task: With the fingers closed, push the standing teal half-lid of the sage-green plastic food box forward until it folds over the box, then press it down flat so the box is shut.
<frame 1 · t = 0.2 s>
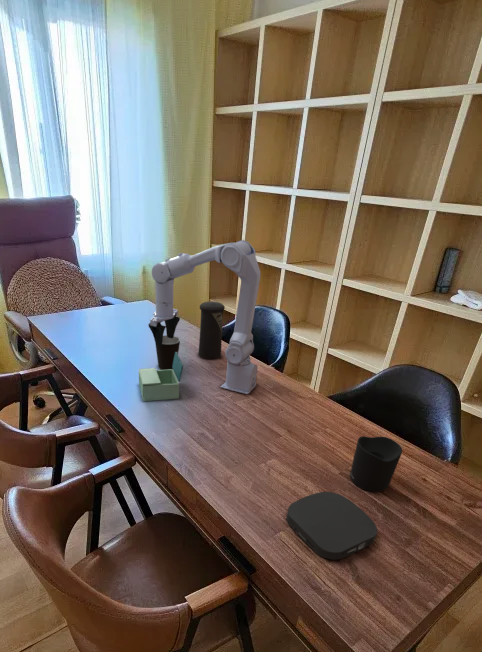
hand: (164, 341, 145), 10 cm above the table, tool pointing down, fingers open, 7 cm apart
container: (209, 356, 162), on the table
media streaming box: (329, 528, 86), on the table
coffee mug: (170, 365, 152), on the table
food box: (158, 391, 134), on the table
pen holder: (368, 481, 100), on the table
lid: (177, 366, 131), point 8 cm above the table, hinge at 100.0°
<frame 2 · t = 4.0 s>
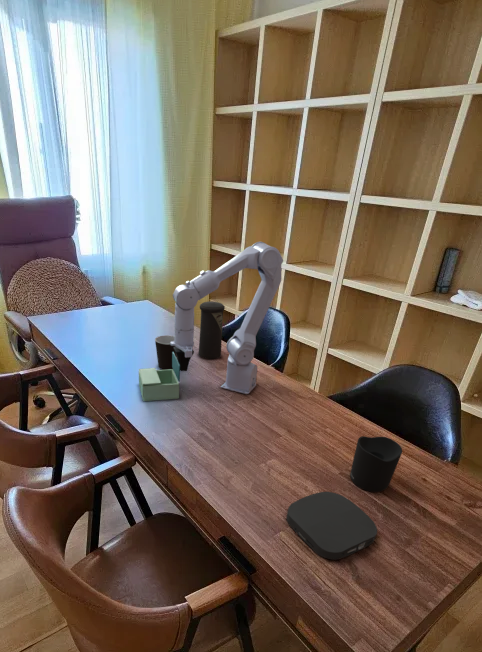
hand: (183, 370, 132), 7 cm above the table, tool pointing down, fingers closed
lid: (175, 366, 131), point 8 cm above the table, hinge at 90.2°
everything else where it was.
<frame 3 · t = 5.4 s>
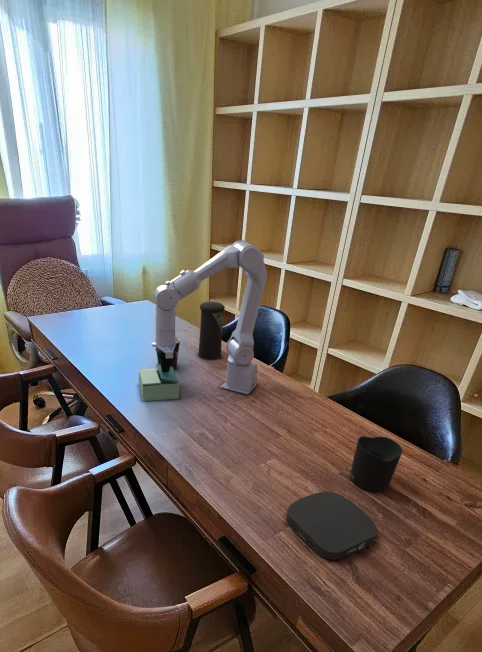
hand: (165, 371, 131), 7 cm above the table, tool pointing down, fingers closed, pressing on lid
lid: (167, 372, 131), point 6 cm above the table, hinge at 15.1°, touching gripper
everything else where it was.
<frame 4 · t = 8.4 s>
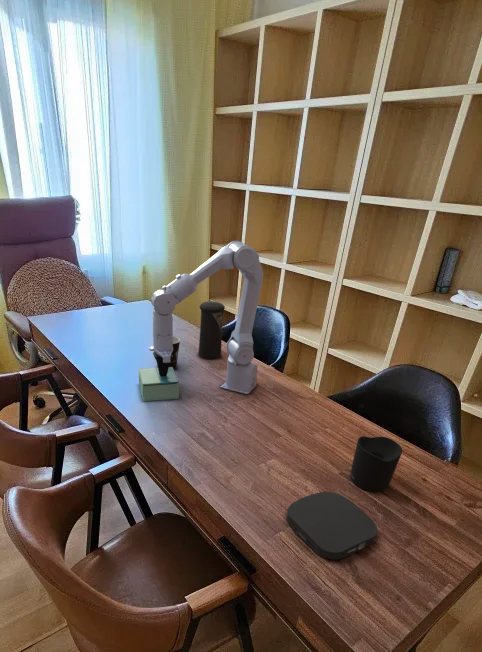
hand: (163, 375, 131), 6 cm above the table, tool pointing down, fingers closed, pressing on lid
lid: (167, 375, 132), point 6 cm above the table, hinge at -2.1°, touching gripper
everything else where it was.
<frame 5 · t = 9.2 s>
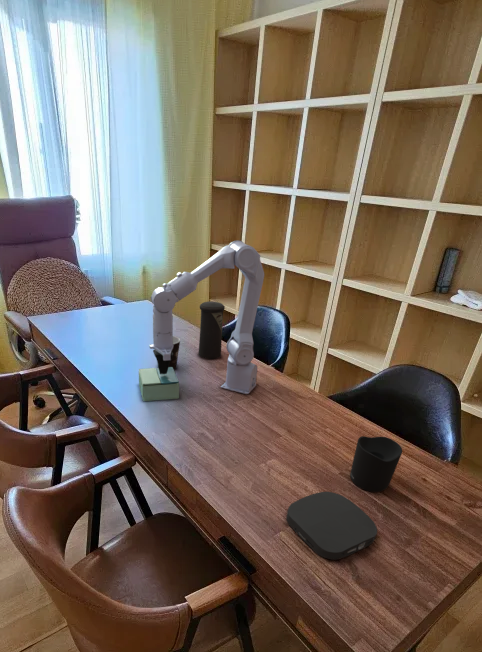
hand: (163, 373, 131), 6 cm above the table, tool pointing down, fingers closed
lid: (167, 375, 132), point 6 cm above the table, hinge at -1.5°
everything else where it was.
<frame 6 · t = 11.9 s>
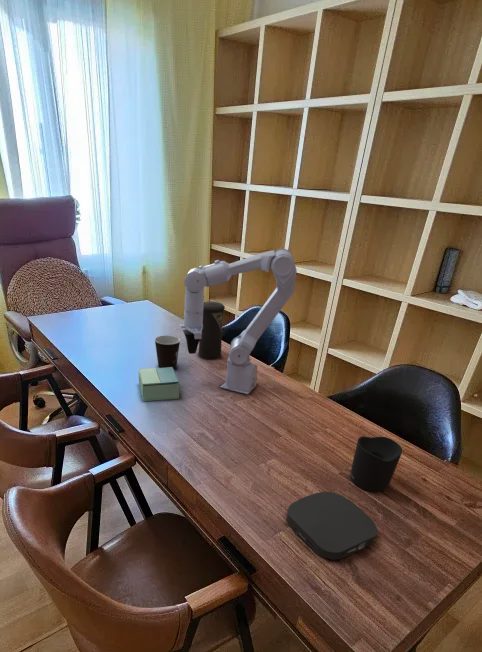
hand: (191, 352, 136), 10 cm above the table, tool pointing down, fingers closed
nothing on the table moved.
at the end: lid at -2° (first picture: +100°); lid reached -4° during the clip, -2° at the end; the gripper is holding nothing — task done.
